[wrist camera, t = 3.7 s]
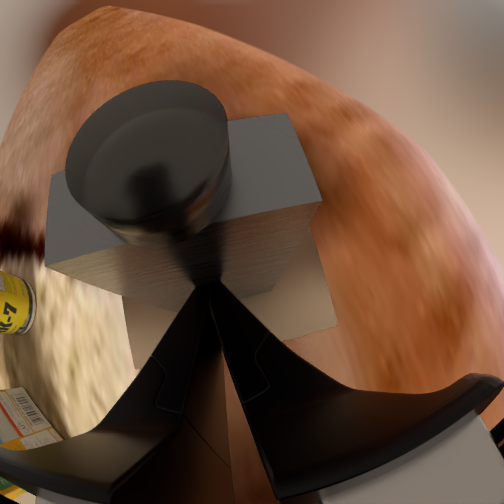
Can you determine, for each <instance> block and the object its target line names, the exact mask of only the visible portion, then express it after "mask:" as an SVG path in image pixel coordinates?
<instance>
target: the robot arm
mask: <svg viewBox="0 0 504 504" xmlns="http://www.w3.org/2000/svg"><path fill="white" fill-rule="evenodd" d="M223 353H224V357H225V360H226V362H227V365H228V368H229V371H230V374H231V377H232V380H233V383H234V386H235V389H236V391H237V394H238V397H239V400H240V402H241V405H242V408H243V411H244V413H245V416H246V419H247V421H248V424H249V427H250V430H251V433H252V436H253V438H254V441H255V444H256V447H257V450H258V452H259V455H260V458H261V461H262V463H263V466H264V469H265V471H266V474H267V476H268V479H269V482H270V484H271V487H272V489H273V492H274V495H275V497H276V500H277V501H278V502H279V504H504V418H503V419H502V420H501V421H500V422H499V423H498V424H497V425H496V426H495V427H494V428H493V429H492V430H491V431H489V430H488V428H487V427H486V425H485V424H484V422H483V420H482V419H481V417H480V416H479V415H480V414H481V413H482V412H483V411H484V410H485V409H486V408H487V407H488V405H489V404H490V403H491V402H492V401H493V400H494V399H495V398H496V396H497V395H498V394H499V393H500V391H501V390H502V389H503V387H504V381H503V380H501V379H499V378H498V377H496V376H492V375H488V374H478V373H470V374H468V375H465V376H464V377H462V378H461V379H459V380H458V381H456V382H455V383H453V384H452V385H450V386H448V387H446V388H444V389H442V390H439V391H436V392H432V393H426V394H404V393H387V392H374V391H364V390H356V389H353V388H350V387H347V386H345V385H343V384H341V383H339V382H337V381H336V380H334V379H333V378H331V377H330V376H328V375H326V374H325V373H323V372H322V371H320V370H319V369H317V368H316V367H315V366H313V365H312V364H310V363H309V362H307V361H306V360H304V359H303V358H301V357H300V356H299V355H297V354H296V353H295V352H293V351H292V350H291V349H289V348H288V347H287V346H286V345H285V344H284V343H283V342H281V341H280V340H279V339H278V338H277V337H276V336H275V335H274V334H273V333H271V331H270V330H269V329H268V328H267V327H266V326H265V325H264V324H263V323H262V322H261V321H260V320H259V319H258V318H257V317H256V316H255V315H254V314H253V313H252V312H251V311H250V310H249V309H248V308H247V307H246V306H245V305H244V304H243V303H242V302H241V301H240V300H239V299H238V298H237V297H236V296H235V295H234V294H233V293H232V292H231V291H230V290H229V289H228V288H227V287H226V286H225V285H224V284H223V283H222V282H221V281H219V282H214V283H210V284H209V286H208V285H207V284H205V285H201V286H196V287H195V288H194V290H193V291H192V293H191V294H190V296H189V297H188V299H187V300H186V302H185V303H184V305H183V306H182V308H181V309H180V311H179V312H178V314H177V315H176V317H175V318H174V320H173V321H172V323H171V324H170V326H169V328H168V329H167V331H166V332H165V334H164V335H163V337H162V338H161V340H160V341H159V343H158V344H157V346H156V348H155V349H154V351H153V352H152V354H151V356H150V357H149V358H148V360H147V361H146V363H145V365H144V366H143V368H142V369H141V371H140V372H139V374H138V375H137V376H136V378H135V379H134V381H133V382H132V383H131V384H130V386H129V387H128V388H127V390H126V391H125V392H124V394H123V395H122V396H121V397H120V399H119V400H118V401H117V402H116V404H115V405H114V406H113V407H112V409H111V410H110V411H109V413H108V414H107V415H106V416H105V418H104V419H103V420H102V421H101V422H100V423H99V424H98V425H97V426H96V427H95V428H93V429H92V430H90V431H88V432H86V433H84V434H81V435H78V436H75V437H72V438H68V439H65V440H62V441H59V442H55V443H52V444H48V445H44V446H41V447H37V448H33V449H28V450H11V449H7V448H5V447H1V446H0V477H2V478H4V479H5V480H7V481H9V482H10V483H12V484H14V485H16V486H18V487H19V488H21V489H23V490H25V491H27V492H29V493H31V494H33V495H35V496H36V504H235V501H234V492H233V482H232V472H231V462H230V451H229V439H228V426H227V413H226V398H225V382H224V365H223ZM0 504H19V503H17V502H15V501H13V500H11V499H9V498H7V497H5V496H4V495H2V494H0Z"/></svg>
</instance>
